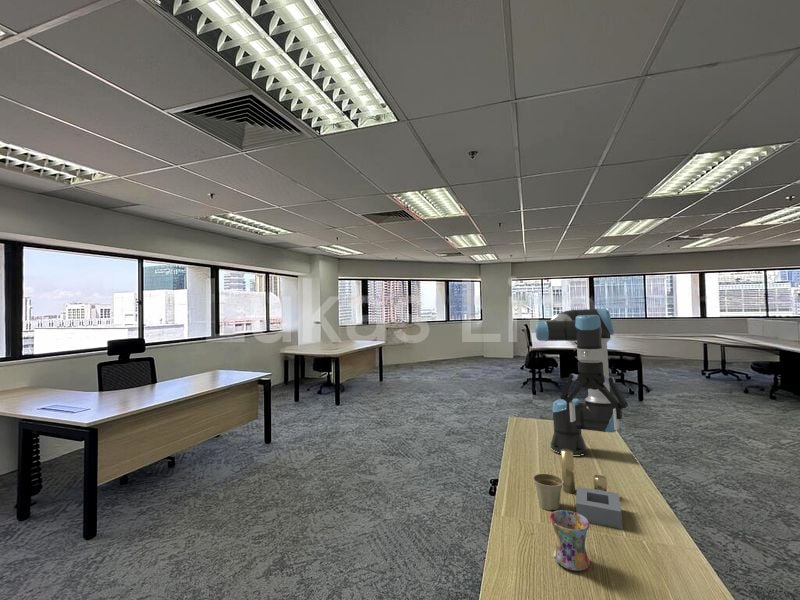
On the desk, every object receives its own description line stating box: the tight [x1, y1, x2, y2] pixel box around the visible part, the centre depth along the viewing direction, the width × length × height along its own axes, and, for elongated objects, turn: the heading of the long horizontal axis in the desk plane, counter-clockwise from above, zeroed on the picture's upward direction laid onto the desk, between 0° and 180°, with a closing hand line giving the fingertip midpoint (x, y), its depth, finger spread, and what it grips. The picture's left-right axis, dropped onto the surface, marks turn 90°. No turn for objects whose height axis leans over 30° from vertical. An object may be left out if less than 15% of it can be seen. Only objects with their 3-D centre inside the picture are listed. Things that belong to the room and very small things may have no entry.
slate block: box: [575, 486, 623, 530], centre depth 114 cm, size 12×12×5 cm
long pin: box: [560, 449, 576, 494], centre depth 130 cm, size 4×4×14 cm
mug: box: [549, 509, 591, 572], centre depth 94 cm, size 12×9×11 cm
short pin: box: [592, 474, 608, 491], centre depth 126 cm, size 4×4×6 cm
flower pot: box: [532, 473, 564, 511], centre depth 120 cm, size 9×9×9 cm
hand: (594, 425), depth 121 cm, fingers open, 13 cm apart
